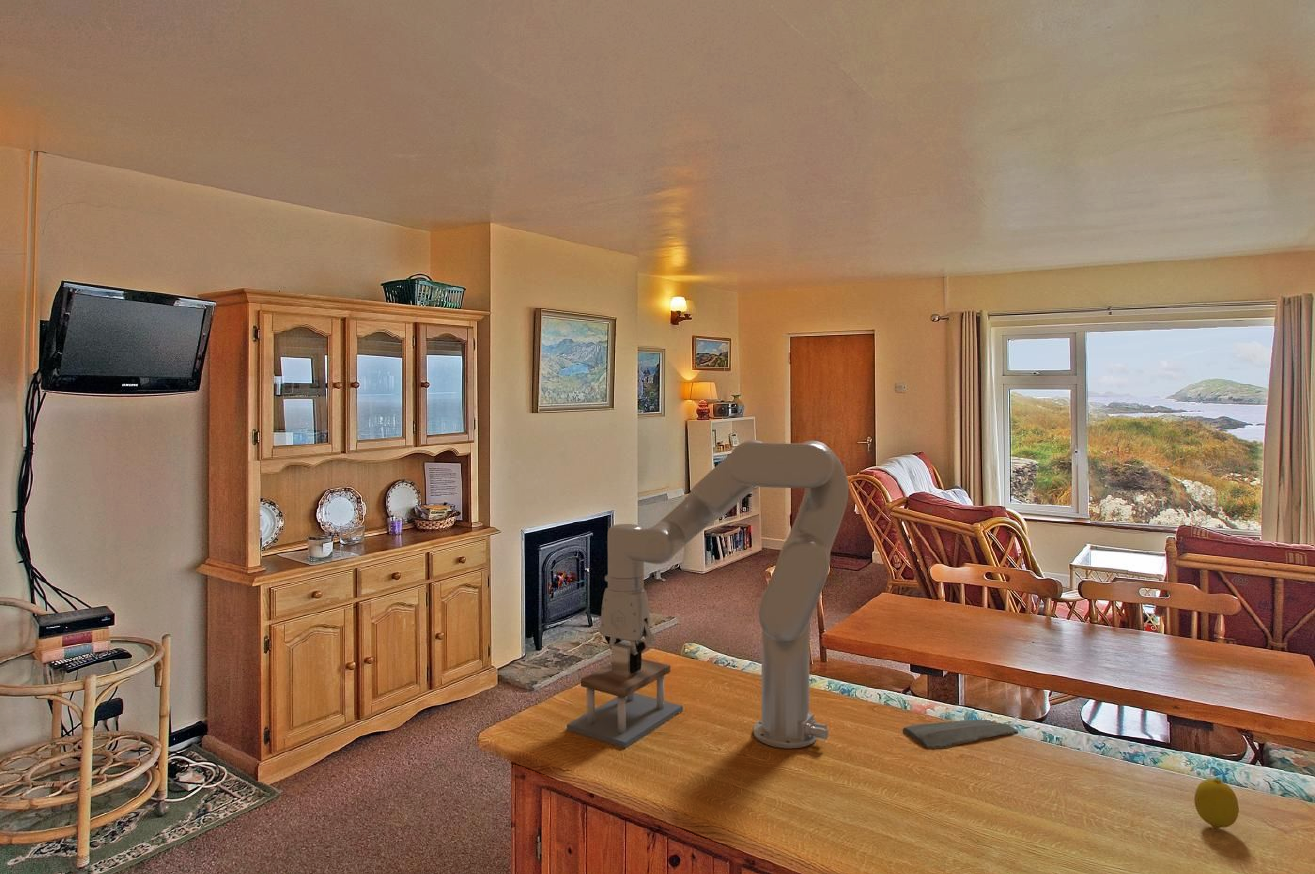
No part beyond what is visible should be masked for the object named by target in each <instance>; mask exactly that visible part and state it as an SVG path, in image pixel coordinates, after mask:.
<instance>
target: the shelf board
mask: <svg viewBox="0 0 1315 874" xmlns="http://www.w3.org/2000/svg"><path fill="white" fill-rule="evenodd" d="M637 646H638V645H637ZM630 654H632V649H631V642H630V641H626V640H622V641H621V642H619V643H617V644H614V645H612V650H611V664H610V665H608V666H605V667H604V668H601V669H599V670H597V671H595V672H592V673H591V674H588V675H586V676H583V678H581V679H580V687H581V688H586V689H587V688H589V689H593V690H595V691H596V692H600V693H604V694H609V695H612V696H616V697H617V696H619V697H622V698H624V697H626V696H628V695H630V694H632V693H633V692H634V693H636V691H639V690H640V689H642V688H644V687H646V686H648V685H649V684H651V683H653V682H656V681H657V679H659V678H661V677H662V676H664V677H665V676H666V675H668V674H669V673H671V665H670V664H667V663H660V662H657V661H653V660H650V659H644V658H642V665H641V669H640V670H639V671H637V672H635V673H630Z"/></svg>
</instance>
